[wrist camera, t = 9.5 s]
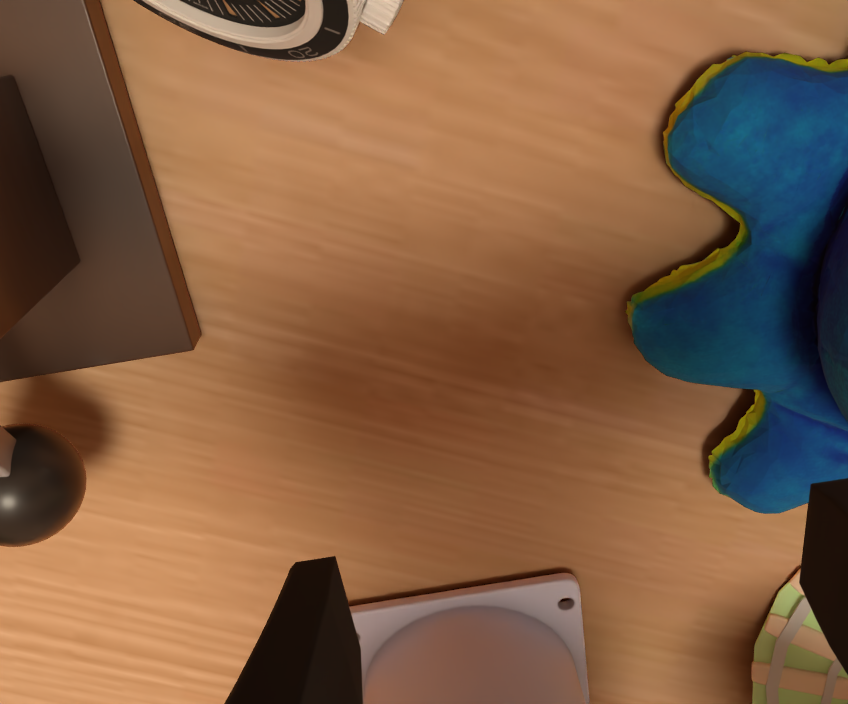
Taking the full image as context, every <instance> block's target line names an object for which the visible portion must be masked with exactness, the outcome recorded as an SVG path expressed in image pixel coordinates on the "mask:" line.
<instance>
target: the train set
mask: <svg viewBox="0 0 848 704" xmlns="http://www.w3.org/2000/svg"><path fill="white" fill-rule="evenodd" d="M800 571H801V569H799V570H798V571H797V572H796V574H795V575H794V576H793V577H792V578H791V580H790V581H789V582H788V583H786V584H785V585H784V586H783V587H782V588H781V589H780V590H779V592H778V594H777V596H776V598H775V600H774V603H773V605H772V607H771V609H770V612H769V614H768V616H767V618H766V620H765V623H764V625H763V627H762V629H761V631H760V634H759V636H758V638H757V640H756V642H755V645H754V662H752V670H751V679H752V681H753V692H752V704H848V675H847V673H846V672H845V670H844V668H843V667H842V665H841V664H840V662H839V661H838V659H837V657H836V656H835V654H834V652H833V651H832V649H831V648H830V646H829V644H828V642H827V640H826V638H825V636H824V634H823V632H822V630H821V628H820V626H819V624H818V622H817V620H816V618H815V616H814V614H813V612H812V609H811V607H810V605H809V603H808V601H807V599H806V597H805V594H804V592H803V590H802V588H801V586H800V584H799V580H800Z"/></svg>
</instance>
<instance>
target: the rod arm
mask: <svg viewBox="0 0 848 704" xmlns="http://www.w3.org/2000/svg"><path fill="white" fill-rule="evenodd" d="M85 490H86V471H85V467H84V463H83V460H82V458H81V456H80V454H79V452H78V451H77V449H76V448H75V447H74V445H73V444H72V443H71V442H70V441H69V440H68V439H66V438H65V437H64V436H62V435H61V434H59V433H58V432H56V431H54V430H52V429H49V428H47V427H44V426H40V425H35V424H12V425H6V426H2V427H1V426H0V546H6V547H20V546H26V545H31V544H35V543H38V542H41V541H43V540H46V539H48V538H49V537H51V536H53V535H55V534H56V533H58V532H59V531H60V530H62V529H63V528H64V527H65V526H66V525H67V524H68V523H69V522H70V521H71V520H72V518H73V517H74V516H75V514H76V513H77V511H78V510H79V508H80V506H81V503H82V501H83V498H84V495H85Z"/></svg>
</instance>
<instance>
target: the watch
mask: <svg viewBox="0 0 848 704" xmlns="http://www.w3.org/2000/svg"><path fill="white" fill-rule="evenodd" d="M134 1H135V2H137V3H138V4H140V5H142V6H143V7H145V8H147V9H148V10H150V11H152V12H154V13H155V14H157V15H159V16H161V17H162V18H164V19H166V20H168V21H170V22H172V23H174V24H176V25H178V26H180V27H182V28H184V29H186V30H188V31H190V32H192V33H194V34H196V35H199V36H201V37H203V38H205V39H208V40H210V41H213V42H215V43H218V44H221V45H223V46H226V47H229V48H232V49H235V50H238V51H241V52H244V53H248V54H251V55H256V56H259V57H264V58H270V59H274V60H275V59H276V60H280V61H281V60H283V61H291V62H294V61H297V62H300V61H303V62H306V61H312V60H313V61H316V60H317V59H318V60H321V59H322V58H324V59H325V58H327V57H331V56H332V55H335V54H336V53H338V52H340V50H343V48H344V47H346V46H347V44H349V42H350V41H351V39H352V37H353V35H354V33H355V31H356V29H357V26H358V24H359V22H361V23H363V24H365V25H367V26H369V27H370V28H372V29H374V30H376V31H378V32H379V33H381V34H383V35H385V33H386V32H387V31H388V29H389V28H390V26H391V25H392V23H393V22H394V20H395V18H396V16H397V14H398V12H399V10H400V8H401V6H402V3H403V1H404V0H134Z"/></svg>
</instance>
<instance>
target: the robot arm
mask: <svg viewBox="0 0 848 704" xmlns="http://www.w3.org/2000/svg"><path fill="white" fill-rule="evenodd" d="M799 584H800V586H801V588H802V590H803V592H804V594H805V597H806V599H807V601H808V603H809V605H810V607H811V609H812V612H813V614H814V616H815V618H816V620H817V622H818V624H819V626H820V628H821V630H822V632H823V634H824V636H825V638H826V640H827V642H828V644H829V646H830V648H831V649H832V651H833V652H834V654H835V656H836V657H837V659H838V661H839V662H840V664H841V665H842V667H843V668H844V670H845V672H846V673H847V675H848V478H845V479H839V480H832V481H826V482H819V483H812V484H811V486H810V494H809V503H808V511H807V520H806V528H805V537H804V545H803V554H802V563H801V571H800V580H799ZM564 598H570V599H569V600H567V601H564V602H561V601H560V600H561V599H564ZM224 704H590V699H589V687H588V676H587V664H586V653H585V641H584V630H583V618H582V607H581V595H580V588H579V585H578V582H577V579H576V577H574V576H573V575H572V574H569V573H558V574H552V575H545V576H539V577H533V578H527V579H520V580H514V581H508V582H501V583H495V584H489V585H482V586H476V587H470V588H464V589H457V590H451V591H445V592H438V593H432V594H426V595H419V596H413V597H407V598H400V599H394V600H388V601H382V602H375V603H369V604H363V605H356V606H350V607H349V604H348V600H347V597H346V593H345V590H344V586H343V582H342V579H341V575H340V572H339V568H338V564H337V561H336V557H335V556H334V557H327V558H321V559H314V560H307V561H301V562H296V563H295V564H294V565H293V566H292V567H291V569H290V571H289V573H288V576H287V578H286V580H285V583H284V585H283V588H282V590H281V592H280V594H279V597H278V599H277V601H276V603H275V606H274V608H273V610H272V612H271V614H270V617H269V619H268V621H267V623H266V625H265V627H264V629H263V631H262V633H261V635H260V637H259V639H258V641H257V643H256V645H255V647H254V649H253V651H252V653H251V655H250V657H249V659H248V661H247V663H246V665H245V667H244V668H243V670H242V672H241V674H240V676H239V678H238V680H237V682H236V684H235V686H234V688H233V689H232V691H231V693H230V695H229V697H228V698H227V700H226V702H225V703H224Z"/></svg>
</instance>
